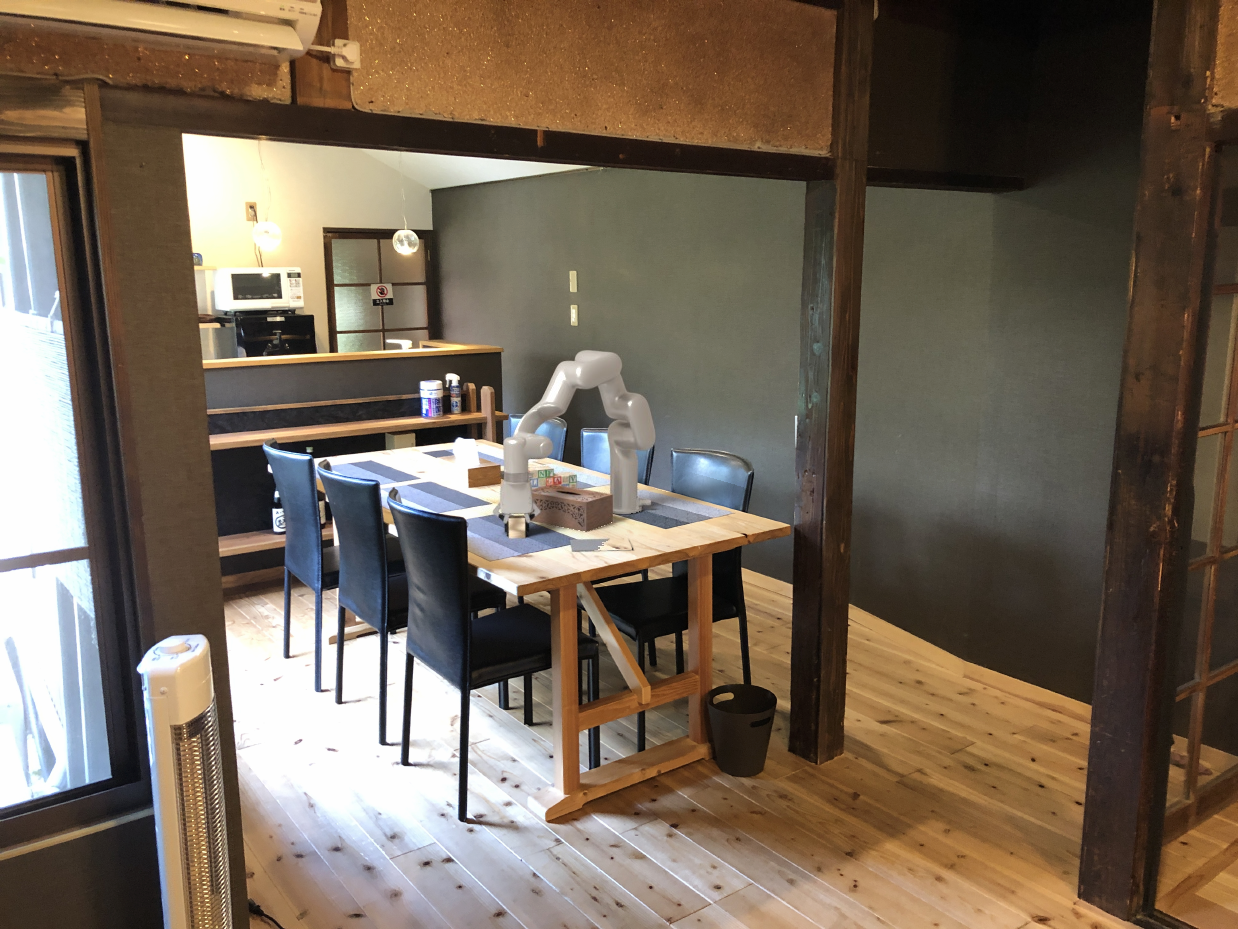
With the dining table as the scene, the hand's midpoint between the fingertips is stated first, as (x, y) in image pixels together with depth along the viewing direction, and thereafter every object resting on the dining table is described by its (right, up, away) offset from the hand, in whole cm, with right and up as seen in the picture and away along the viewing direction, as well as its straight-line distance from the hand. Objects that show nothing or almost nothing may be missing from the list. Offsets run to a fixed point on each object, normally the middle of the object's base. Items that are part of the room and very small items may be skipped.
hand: (517, 533), depth 292 cm
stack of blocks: (+6, +8, +50) cm, 50 cm away
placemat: (+26, -3, -10) cm, 28 cm away
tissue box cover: (+15, +2, +19) cm, 24 cm away
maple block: (0, -1, 0) cm, 1 cm away
